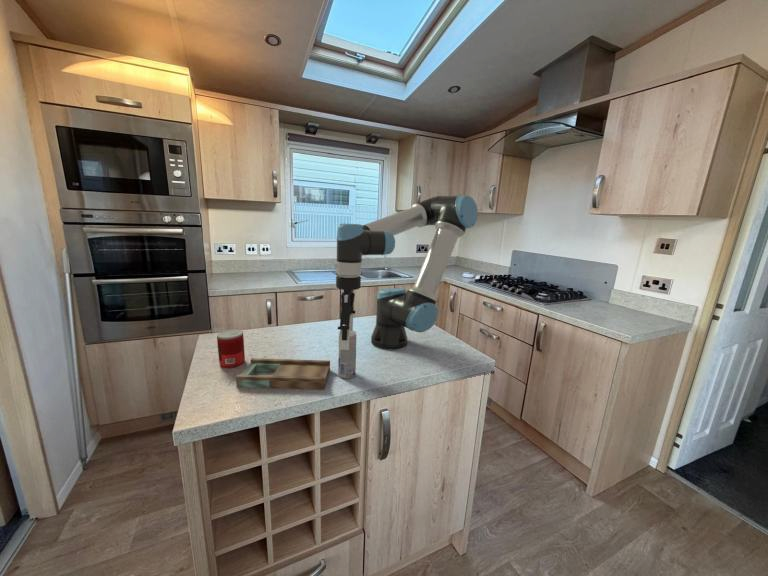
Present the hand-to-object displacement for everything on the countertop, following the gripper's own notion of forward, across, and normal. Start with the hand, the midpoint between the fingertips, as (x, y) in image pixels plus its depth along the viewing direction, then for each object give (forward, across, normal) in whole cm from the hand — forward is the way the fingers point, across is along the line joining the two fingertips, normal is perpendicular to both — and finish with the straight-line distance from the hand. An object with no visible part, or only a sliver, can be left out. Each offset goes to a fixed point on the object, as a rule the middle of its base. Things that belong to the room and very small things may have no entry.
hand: (346, 340), depth 99 cm
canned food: (+13, -6, -40) cm, 42 cm away
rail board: (+13, +3, -19) cm, 23 cm away
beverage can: (+12, 0, 0) cm, 13 cm away
